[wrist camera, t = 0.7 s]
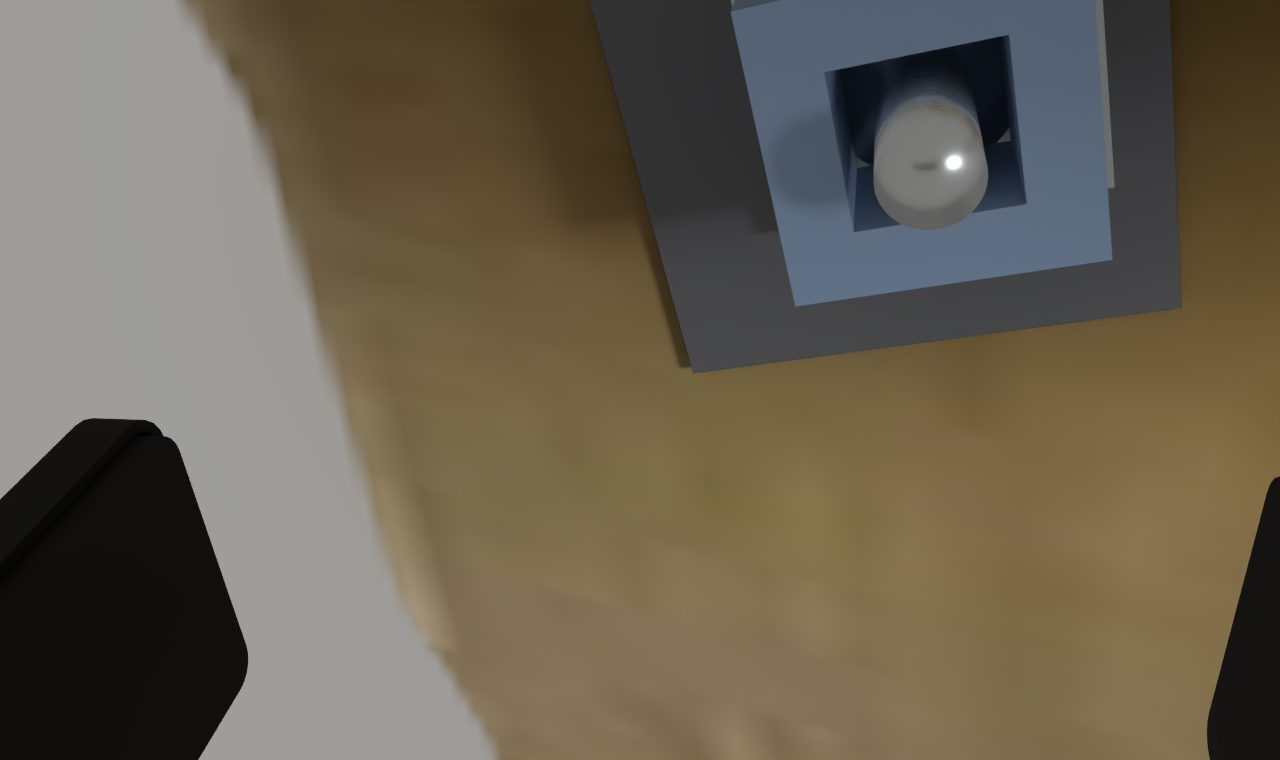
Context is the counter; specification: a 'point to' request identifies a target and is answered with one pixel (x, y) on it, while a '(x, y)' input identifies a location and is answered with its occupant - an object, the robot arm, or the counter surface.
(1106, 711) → the counter surface
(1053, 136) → the square hole block
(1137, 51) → the bench mat
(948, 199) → the stand
